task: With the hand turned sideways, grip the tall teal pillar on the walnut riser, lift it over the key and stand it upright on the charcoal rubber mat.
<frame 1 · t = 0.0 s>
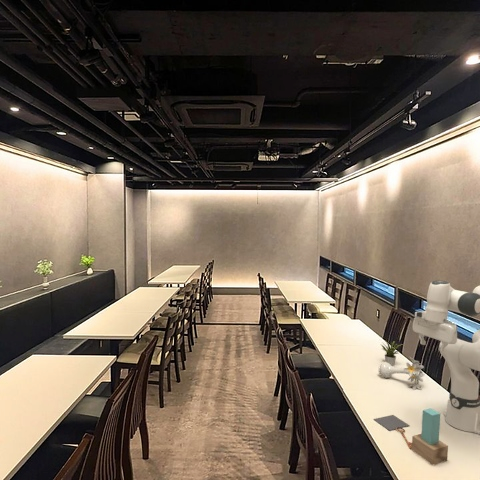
hand: (431, 347, 164), 39 cm above the table, tool pointing down, fingers open, 8 cm apart
mat: (391, 422, 173), on the table
key: (406, 439, 161), on the table, touching mat, riser
riser: (429, 455, 149), on the table
house plant: (391, 365, 246), on the table
flower vase: (400, 382, 219), on the table
tall teal pillar: (429, 440, 149), point 6 cm above the table, touching riser
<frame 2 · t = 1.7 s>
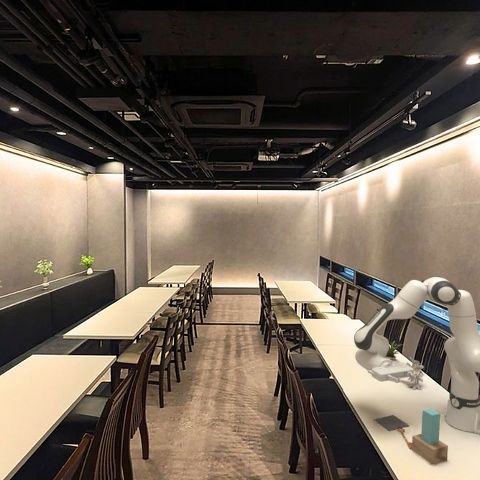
hand: (406, 379, 160), 26 cm above the table, tool horizontal, fingers open, 8 cm apart
nothing on the table moved.
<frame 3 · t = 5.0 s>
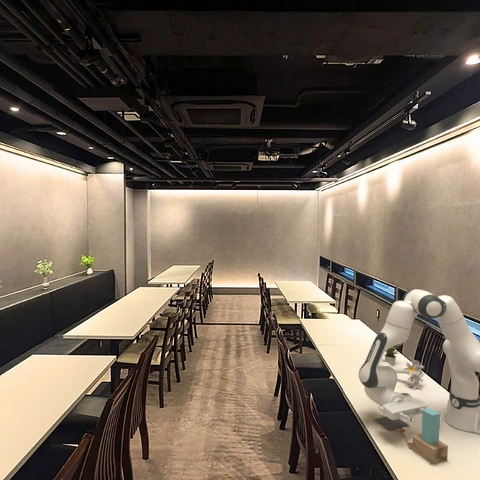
hand: (419, 418, 154), 13 cm above the table, tool horizontal, fingers open, 8 cm apart
nothing on the table moved.
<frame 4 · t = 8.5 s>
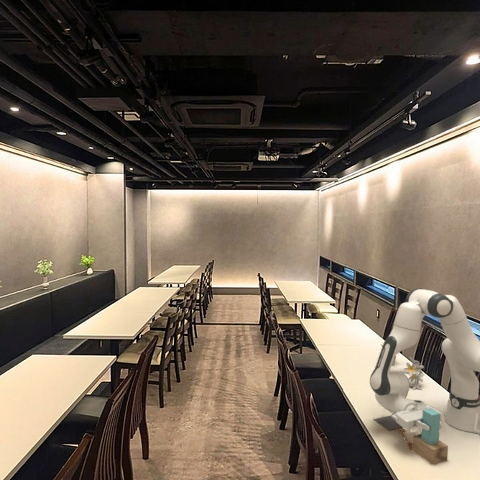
hand: (434, 427, 147), 13 cm above the table, tool horizontal, fingers closed on tall teal pillar, 4 cm apart
tall teal pillar: (429, 440, 149), point 6 cm above the table, touching gripper, riser
everything else where it was.
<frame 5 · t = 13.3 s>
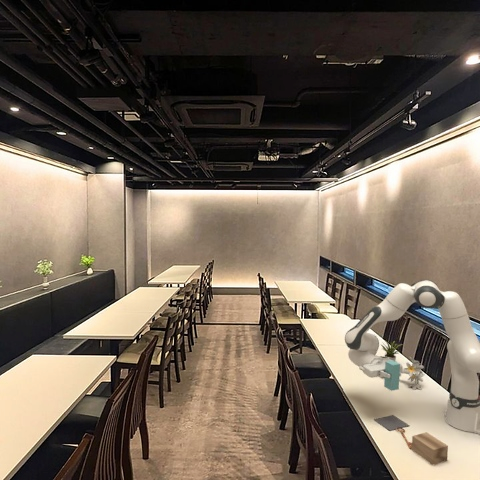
hand: (395, 375, 171), 23 cm above the table, tool horizontal, fingers closed on tall teal pillar, 4 cm apart
tall teal pillar: (391, 387, 173), point 16 cm above the table, touching gripper
everything else where it was.
when the fingers open (8 cm above the table, at t = 18.0 s): tall teal pillar drops 1 cm, resting on mat.
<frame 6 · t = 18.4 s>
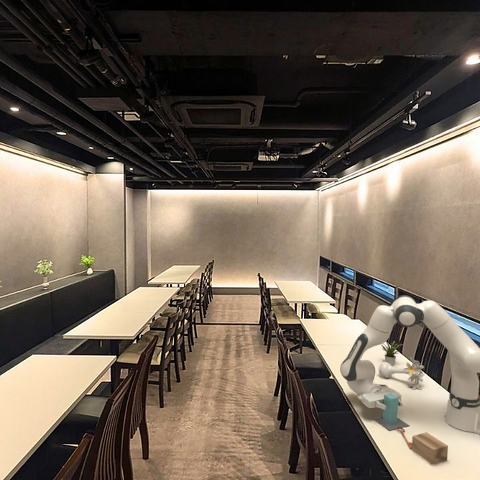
hand: (393, 406, 172), 8 cm above the table, tool horizontal, fingers open, 8 cm apart
tall teal pillar: (390, 421, 174), resting on mat
everything else where it was.
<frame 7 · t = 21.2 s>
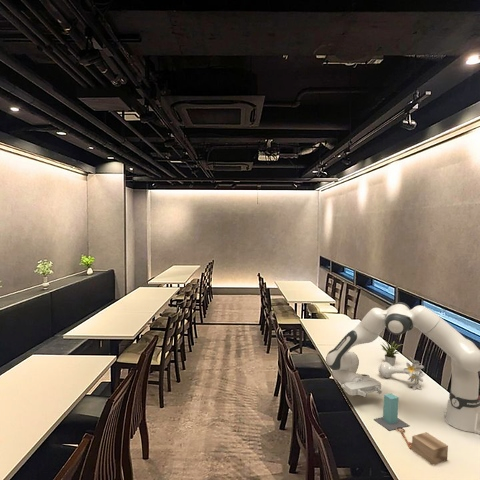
hand: (373, 393, 184), 9 cm above the table, tool horizontal, fingers open, 8 cm apart
nothing on the table moved.
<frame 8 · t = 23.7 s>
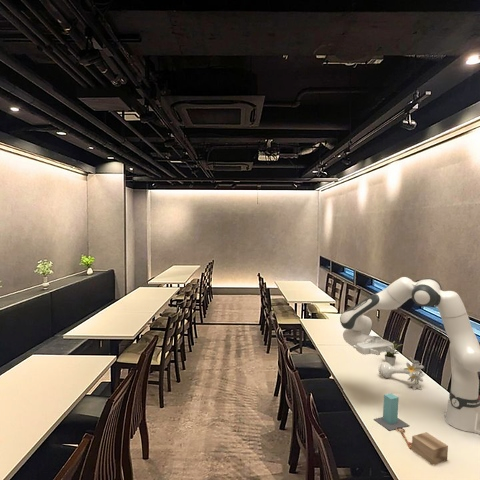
hand: (386, 352, 182), 30 cm above the table, tool horizontal, fingers open, 8 cm apart
nothing on the table moved.
at the end: tall teal pillar inside the target area on the mat (1.0 cm from its centre), point 0.4 cm above the mat's base; tall teal pillar tilted 0°; the gripper is holding nothing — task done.
